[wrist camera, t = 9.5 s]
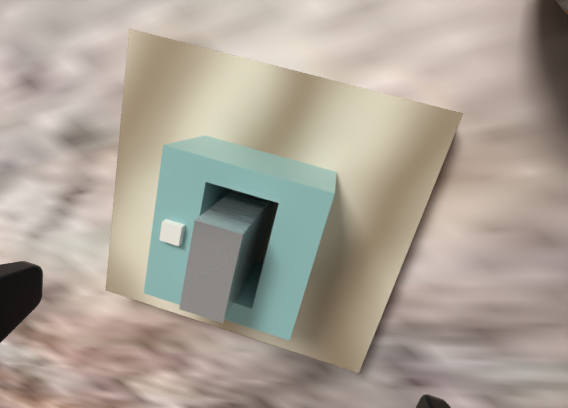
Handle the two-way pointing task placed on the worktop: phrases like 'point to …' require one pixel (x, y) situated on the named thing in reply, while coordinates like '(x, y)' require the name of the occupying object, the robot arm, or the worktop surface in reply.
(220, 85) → the board
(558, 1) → the vase
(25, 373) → the worktop surface
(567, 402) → the worktop surface
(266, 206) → the grey rectangular peg
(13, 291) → the robot arm
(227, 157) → the teal open cube
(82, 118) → the worktop surface
